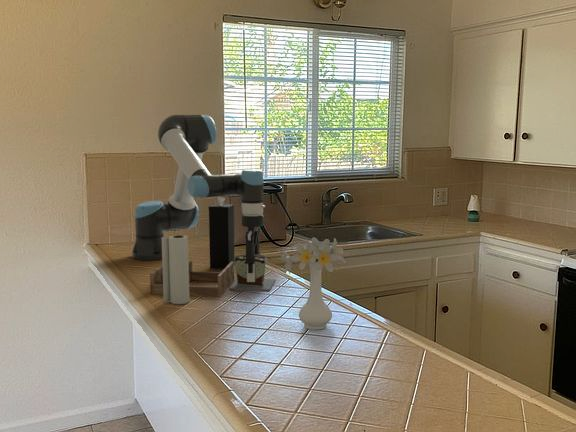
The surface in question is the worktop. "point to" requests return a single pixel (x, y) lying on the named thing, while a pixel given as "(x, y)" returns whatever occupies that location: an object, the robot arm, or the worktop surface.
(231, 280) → the rack
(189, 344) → the worktop surface
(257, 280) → the food container
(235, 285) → the mat
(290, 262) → the flower vase
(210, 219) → the black bar
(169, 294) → the paper towel roll
